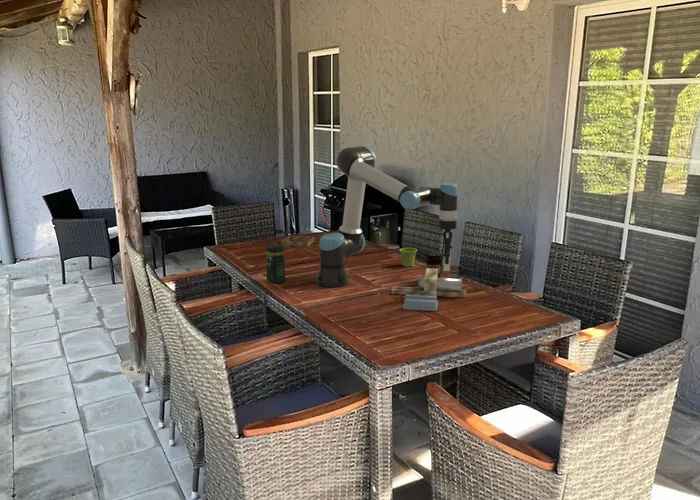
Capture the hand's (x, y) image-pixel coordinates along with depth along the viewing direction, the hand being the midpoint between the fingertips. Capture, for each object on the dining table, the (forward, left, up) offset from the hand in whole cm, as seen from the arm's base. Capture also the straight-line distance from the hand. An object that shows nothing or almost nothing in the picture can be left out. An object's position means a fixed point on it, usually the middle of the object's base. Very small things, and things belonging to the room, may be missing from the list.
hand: (447, 266), depth 247 cm
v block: (-10, -17, -13) cm, 24 cm away
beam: (-7, 0, -13) cm, 15 cm away
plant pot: (-21, +48, -13) cm, 54 cm away
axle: (-3, 0, -8) cm, 9 cm away
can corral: (-94, +90, -13) cm, 131 cm away
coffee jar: (-82, +9, -13) cm, 84 cm away
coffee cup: (-6, +23, -13) cm, 27 cm away
